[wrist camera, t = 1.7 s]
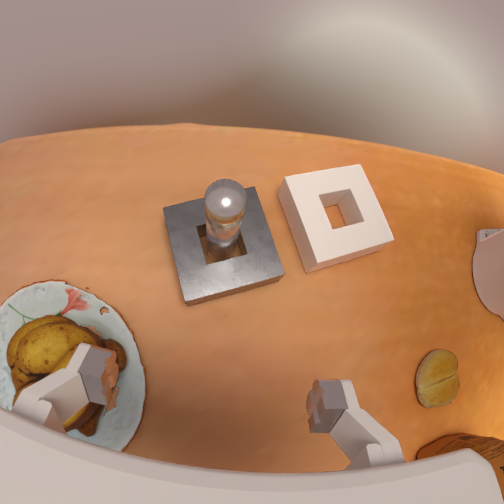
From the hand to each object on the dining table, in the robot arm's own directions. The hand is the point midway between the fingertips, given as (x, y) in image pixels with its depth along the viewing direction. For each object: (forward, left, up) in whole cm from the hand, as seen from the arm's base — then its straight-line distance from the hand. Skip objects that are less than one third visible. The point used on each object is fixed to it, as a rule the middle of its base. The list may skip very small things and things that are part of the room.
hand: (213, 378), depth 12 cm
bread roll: (-30, +15, -27) cm, 43 cm away
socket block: (-5, -13, -27) cm, 30 cm away
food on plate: (+21, -2, -27) cm, 35 cm away
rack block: (-21, -13, -27) cm, 36 cm away
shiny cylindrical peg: (-5, -13, -27) cm, 30 cm away
